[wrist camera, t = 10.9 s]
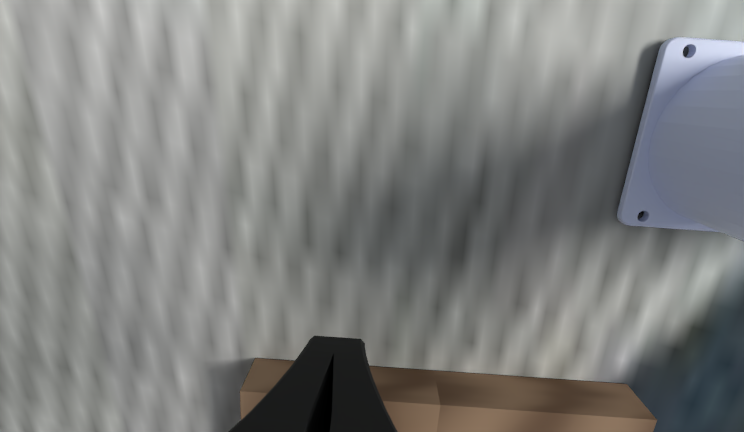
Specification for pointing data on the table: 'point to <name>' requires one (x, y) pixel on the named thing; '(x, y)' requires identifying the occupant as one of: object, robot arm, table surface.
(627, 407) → the walnut board
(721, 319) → the table surface
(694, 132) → the robot arm
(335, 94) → the table surface
